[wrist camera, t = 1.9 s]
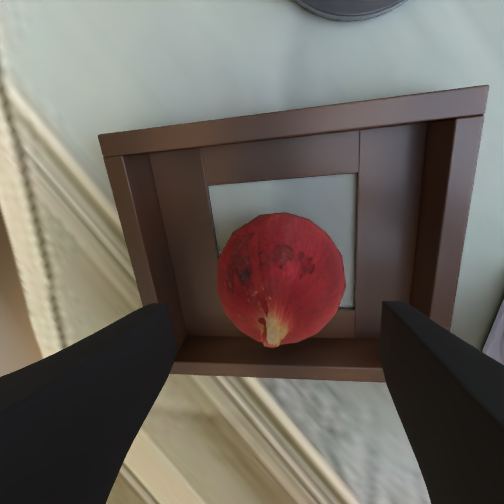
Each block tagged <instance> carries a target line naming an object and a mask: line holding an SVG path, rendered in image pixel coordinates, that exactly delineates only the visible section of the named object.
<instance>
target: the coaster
mask: <svg viewBox="0 0 504 504" xmlns="http://www.w3.org/2000/svg"><path fill="white" fill-rule="evenodd" d="M295 1H296V2H297V3H298V4H300V5H301V6H302V7H304V8H305V9H307V10H309V11H310V12H312V13H314V14H316V15H319V16H321V17H324V18H328V19H332V20H338V21H357V20H364V19H368V18H373V17H376V16H379V15H382V14H384V13H387V12H389V11H391V10H393V9H395V8H397V7H398V6H400V5H402V4H404V3H405V2H407V1H408V0H295Z"/></svg>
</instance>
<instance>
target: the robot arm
mask: <svg viewBox="0 0 504 504" xmlns="http://www.w3.org/2000/svg"><path fill="white" fill-rule="evenodd" d="M177 352H178V347H177V342H176V338H175V334H174V330H173V325H172V321H171V317H170V312H169V308H168V304H167V303H151V304H148V305H146V306H144V307H142V308H140V309H138V310H136V311H134V312H132V313H130V314H128V315H126V316H125V317H123V318H121V319H119V320H117V321H116V322H114V323H112V324H110V325H108V326H107V327H105V328H103V329H101V330H99V331H98V332H96V333H94V334H92V335H90V336H88V337H86V338H84V339H82V340H80V341H79V342H77V343H75V344H73V345H71V346H69V347H67V348H65V349H63V350H61V351H59V352H57V353H55V354H53V355H51V356H49V357H46V358H44V359H42V360H40V361H38V362H35V363H33V364H31V365H29V366H26V367H24V368H22V369H19V370H17V371H15V372H12V373H10V374H7V375H4V376H2V377H0V504H106V501H107V499H108V496H109V494H110V491H111V489H112V487H113V484H114V482H115V480H116V477H117V475H118V473H119V471H120V468H121V466H122V464H123V461H124V459H125V457H126V455H127V453H128V451H129V449H130V447H131V445H132V443H133V441H134V439H135V437H136V435H137V433H138V431H139V429H140V428H141V426H142V424H143V422H144V420H145V419H146V417H147V415H148V413H149V411H150V409H151V408H152V406H153V404H154V402H155V400H156V399H157V397H158V395H159V393H160V391H161V389H162V387H163V386H164V384H165V382H166V380H167V378H168V376H169V373H170V371H171V368H172V366H173V363H174V361H175V358H176V355H177ZM379 357H380V361H381V365H382V369H383V373H384V376H385V380H386V384H387V387H388V389H389V392H390V394H391V397H392V399H393V402H394V404H395V407H396V410H397V412H398V414H399V417H400V419H401V422H402V424H403V427H404V429H405V432H406V434H407V437H408V439H409V442H410V444H411V447H412V449H413V452H414V454H415V457H416V459H417V462H418V464H419V467H420V470H421V473H422V475H423V478H424V481H425V484H426V487H427V490H428V494H429V497H430V500H431V503H432V504H504V299H503V302H502V304H501V307H500V309H499V312H498V314H497V316H496V319H495V321H494V324H493V326H492V329H491V331H490V334H489V336H488V338H487V341H486V343H485V346H484V348H483V351H482V352H481V351H479V350H478V349H476V348H474V347H473V346H471V345H470V344H468V343H466V342H465V341H463V340H462V339H460V338H459V337H457V336H456V335H454V334H452V333H451V332H449V331H448V330H446V329H445V328H443V327H442V326H440V325H439V324H437V323H436V322H435V321H433V320H432V319H430V318H429V317H427V316H426V315H424V314H423V313H421V312H420V311H418V310H417V309H415V308H414V307H412V306H411V305H409V304H408V303H406V302H404V301H382V312H381V329H380V345H379Z"/></svg>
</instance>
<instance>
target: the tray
mask: <svg viewBox="0 0 504 504" xmlns="http://www.w3.org/2000/svg"><path fill="white" fill-rule="evenodd" d="M488 91H489V85H481V86H473V87H466V88H458V89H450V90H442V91H434V92H427V93H419V94H411V95H403V96H396V97H388V98H380V99H372V100H364V101H357V102H349V103H341V104H333V105H325V106H318V107H310V108H302V109H294V110H286V111H279V112H271V113H263V114H255V115H248V116H240V117H232V118H224V119H216V120H209V121H201V122H193V123H185V124H177V125H170V126H162V127H154V128H146V129H138V130H131V131H123V132H115V133H107V134H100V135H98V139H99V143H100V146H101V150H102V154H103V157H104V162H105V166H106V169H107V173H108V177H109V181H110V184H111V188H112V192H113V196H114V199H115V203H116V207H117V211H118V214H119V218H120V222H121V226H122V229H123V233H124V237H125V241H126V244H127V248H128V252H129V256H130V259H131V263H132V267H133V271H134V274H135V278H136V282H137V286H138V289H139V293H140V297H141V301H142V304H143V307H144V306H146V305H148V304H151V303H167V304H168V308H169V312H170V317H171V321H172V325H173V330H174V334H175V338H176V342H177V347H178V352H177V355H176V358H175V361H174V363H173V366H172V368H171V371H170V373H169V374H188V375H212V376H237V377H262V378H286V379H311V380H335V381H360V382H385V383H386V380H385V376H384V373H383V369H382V365H381V361H380V357H379V345H380V329H381V312H382V301H404V302H406V303H408V304H409V305H411V306H412V307H414V308H415V309H417V310H418V311H420V312H421V313H423V314H424V315H426V316H427V317H429V318H430V319H432V320H433V321H435V322H436V323H437V324H439V325H440V326H442V327H443V328H445V329H446V330H448V331H449V332H450V327H451V321H452V314H453V308H454V302H455V296H456V289H457V283H458V277H459V271H460V265H461V258H462V252H463V246H464V240H465V233H466V227H467V221H468V215H469V208H470V202H471V196H472V190H473V184H474V177H475V171H476V165H477V159H478V152H479V146H480V140H481V134H482V128H483V121H484V114H485V109H486V103H487V97H488ZM348 173H358V182H357V223H356V265H355V307H354V308H338V310H337V312H336V314H335V315H334V317H333V318H332V319H331V320H330V321H329V322H328V323H327V324H326V325H325V326H324V327H323V328H322V329H321V330H320V331H319V332H318V333H317V334H315V335H313V336H311V337H308V338H306V339H304V340H302V341H300V342H297V343H289V344H282V345H279V346H278V347H275V348H270V347H266V346H264V345H263V343H262V342H258V341H256V340H255V339H253V338H251V337H250V336H248V335H246V334H245V333H243V332H241V331H240V330H239V329H238V328H237V326H236V325H235V324H234V323H233V322H232V321H231V320H230V318H229V317H228V316H227V315H226V314H225V311H224V308H223V306H222V303H221V300H220V297H219V294H218V291H217V270H218V259H219V257H218V250H217V243H216V237H215V230H214V224H213V217H212V211H211V204H210V197H209V191H208V185H219V184H231V183H243V182H254V181H266V180H278V179H289V178H301V177H313V176H325V175H336V174H348Z"/></svg>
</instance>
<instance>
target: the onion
mask: <svg viewBox="0 0 504 504" xmlns="http://www.w3.org/2000/svg"><path fill="white" fill-rule="evenodd" d="M345 287H346V282H345V275H344V267H343V260H342V255H341V253H340V252H339V250H338V249H337V247H336V246H335V244H334V242H333V241H332V239H331V238H330V236H329V235H328V234H327V233H326V232H325V231H323V230H322V229H321V228H320V227H318V226H317V225H316V224H314V223H313V222H312V221H310V220H309V219H306V218H303V217H299V216H296V215H292V214H289V213H275V214H265V215H259V216H258V217H256V218H255V219H253V220H251V221H250V222H248V223H247V224H245V225H243V226H242V227H240V228H239V229H237V230H236V231H234V232H233V233H232V235H231V237H230V239H229V240H228V242H227V244H226V245H225V247H224V249H223V251H222V252H221V254H220V257H219V259H218V270H217V291H218V294H219V297H220V300H221V303H222V306H223V308H224V311H225V314H226V315H227V316H228V317H229V318H230V320H231V321H232V322H233V323H234V324H235V325H236V326H237V328H238V329H239V330H240V331H241V332H243V333H245V334H246V335H248V336H250V337H251V338H253V339H255V340H256V341H258V342H262V343H263V345H264V346H266V347H270V348H275V347H278V346H279V345H282V344H289V343H297V342H300V341H302V340H304V339H306V338H308V337H311V336H313V335H315V334H317V333H318V332H319V331H320V330H321V329H322V328H323V327H324V326H325V325H326V324H327V323H328V322H329V321H330V320H331V319H332V318H333V317H334V315H335V314H336V312H337V310H338V308H339V305H340V302H341V299H342V296H343V293H344V290H345Z"/></svg>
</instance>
